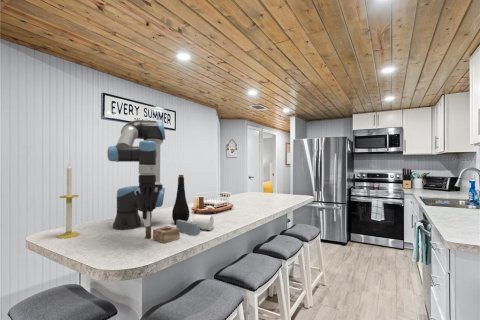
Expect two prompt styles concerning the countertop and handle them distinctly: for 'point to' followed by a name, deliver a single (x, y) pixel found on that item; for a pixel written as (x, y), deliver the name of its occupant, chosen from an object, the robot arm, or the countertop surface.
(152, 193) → the robot arm
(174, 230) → the block
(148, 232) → the dowel
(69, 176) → the candle
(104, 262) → the countertop surface
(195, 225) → the backstop wall
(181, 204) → the bottle
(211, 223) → the mug
